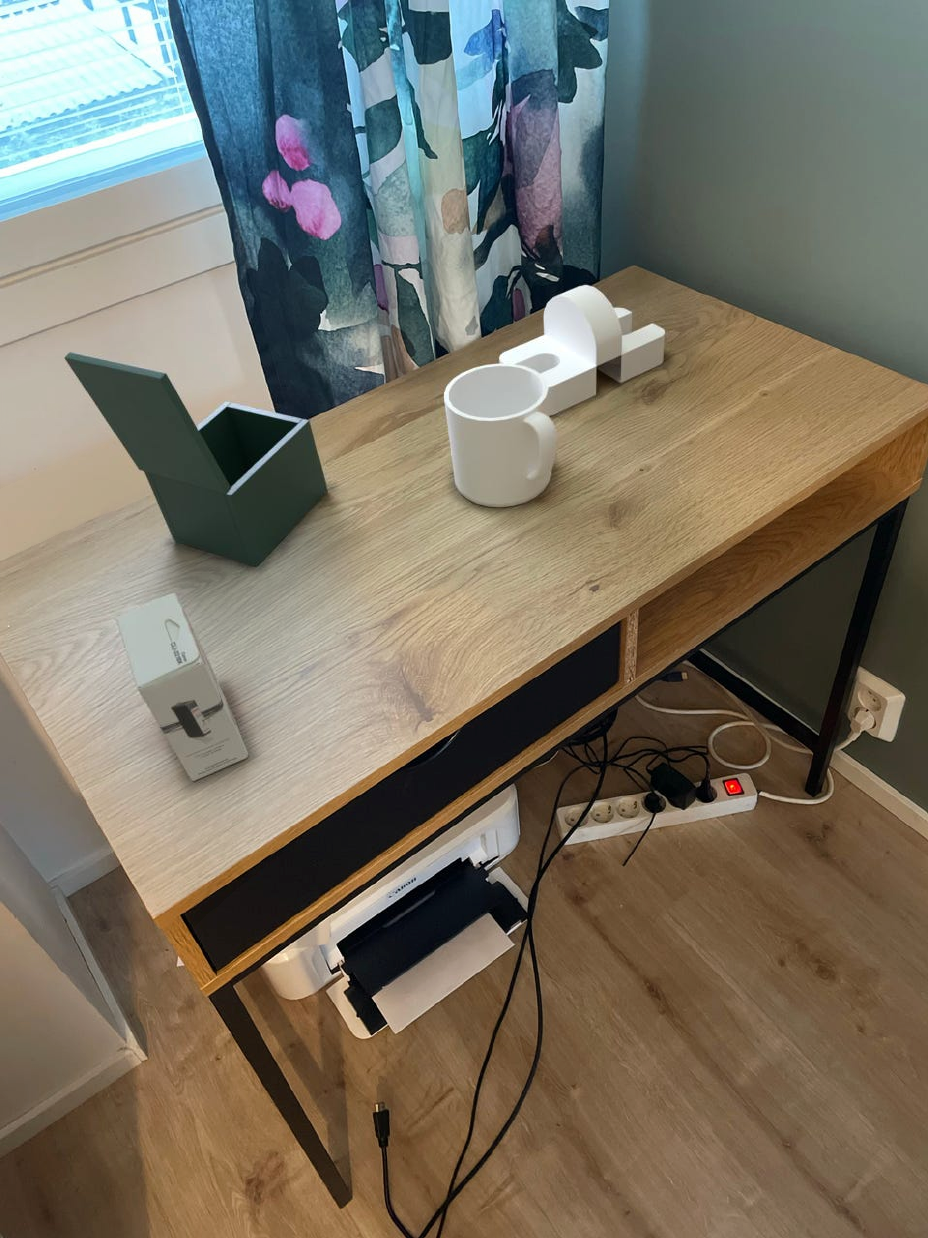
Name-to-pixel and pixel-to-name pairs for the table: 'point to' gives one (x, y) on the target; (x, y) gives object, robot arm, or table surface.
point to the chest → (246, 484)
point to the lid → (149, 420)
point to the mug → (500, 434)
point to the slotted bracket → (586, 346)
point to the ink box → (180, 686)
